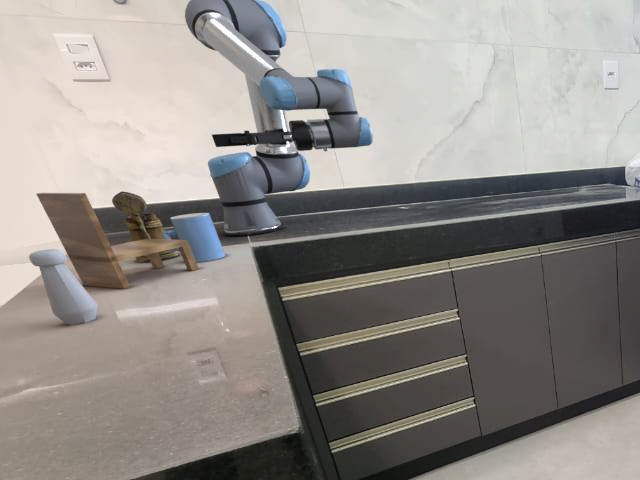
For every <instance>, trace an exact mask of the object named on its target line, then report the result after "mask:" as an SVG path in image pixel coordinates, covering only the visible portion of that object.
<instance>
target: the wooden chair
mask: <svg viewBox="0 0 640 480" xmlns="http://www.w3.org/2000/svg"><path fill="white" fill-rule="evenodd" d="M36 196H37V199H38V200H39V202H40V204H41V206H42V209H43V210H44V212H45V214H46V215H47V217H48V220H49V221H50V223H51V225H52V227H53V229H54V231H55V233H56V236H57V237H58V239H59V241H60V243H61V245H62V246H63V249H64V250H65V253H66V255H67V256H68V258H69V260H70V262H71V264H72V266H73V268H74V270H75V272H76V274H77V276H78V277H79V279H80V282H81V283H82V286H88V287H98V288H99V287H100V288H111V289H123V290H125V289H130V288H131V285H130V284H129V282H128V279H127V277H126V275H125V272H124V271H123V269H122V267H121V264H120V263H119V262H121V261H125V260H131V259H134V258H135V259H136V257H139V256H144V255H148V257H149V260H150V262H149V263H150V264H151V266H152V268H153V269H160V268H165V265H164V263H163V260H161V258H160V256H159V253H158V252H161V251H166V250H170V249H174V248H179V250H180V251H179V253H180V255H181V257H182V260H183V262H184V265H185V267H186V269H187V271H196V270H199V269H200V267H199V265H198V262H196V260H195V258H194V255H193V253H192V251H191V248H190V246H189V243H188V241H187V240H179V239H172V238H171V239H172V240H171V239H148V238H147V239H143V240H138V241H133V242H132V241H128V242H123V243H118V244H113V245H111V244H110V241H109V240H108V238H107V237H108V236H106V233H105V231H104V229H103V227H102V224H101V223H100V220H99V218H98V217H97V215H96V212H95V211H94V208H93V206H92V204H91V201H90V199H89V198H88V195H87V194H86V193H85V192H39V193H36Z"/></svg>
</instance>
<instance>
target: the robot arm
mask: <svg viewBox="0 0 640 480" xmlns="http://www.w3.org/2000/svg"><path fill="white" fill-rule="evenodd" d="M184 18H185V23H186V26H187V28H188V30H189V31H190V33H191V35H192V36H193V37H194V38H195V39H196V40H197V41H198V42H199V43H201V45H203V46H205V48H208V49H209V50H212V51H215V52H217V53H218V54H220V55H221V56H222V57H223V58H225V59H226V60H227V61H228V62H230V63H231V64H232V65H233V66H234V67H236V68H237V69H238V70H239V71H241V73H243V74H244V77H245V78H244V79H245V82H246V87H247V91H248V96H249V101H250V105H251V109H252V114H253V115H252V116H253V120H254V124H255V128H256V132H250V130H243V132H234V133H233V132H232V133H215V134H211V137H212V140H213V142H214V145H215V148H225V147H226V148H227V147H240V146H246V147H251V146H255V147H254V149H255V154H256V155H252V154H251V153H250V152H249V151H243V152H235V153H227V154H224V155H219V156H216V157H212V158H210V159H209V160H208V162H207V167H208V170H209V174H210V175H209V176H210V177H211V179H212V183H213V184H214V187H215V189H216V193H217V195H218V197H219V200H220V203H221V205H222V208H223V231H224V234H225V235H226V236H229V237H242V236H243V237H244V236H253V235H260V234H261V235H262V234H265V233H271V232H274V231H278V230H281V229H282V228H283V227H282V223H281V221H280V220H279V219H278V217H277V216H276V214H275V213H274V211H273V210H272V208H271V207H270V206H269V204H268V201H267V199H266V196H265V195H271V194H278V193H285V192H295V191H298V190H299V191H300V190H303V189H305V188H306V187H307V185H308V184H309V183H310V179H311V170H310V166H309V165H310V164H309V163H308V162H307V159H306V157H305V156H304V155H303V154H302V153H300V152H304V151H312V150H313V149H314V150H323V152H328V149H329V150H330V149H331V150H332V149H348V148H360V147H369V146H371V145H372V144H373V142H374V136H373V130H372V127H371V125H370V121H369V120H368V119H367V118H366V117H363V116H360V114H359V111H358V110H357V105H356V101H355V96H354V91H353V86H352V83H351V80H350V77H349V74H348V72H347V71H346V70H344V69H339V68H324V69H323V68H322V69H318V70H317V71H316V76H293V75H292V74H290V72H288V71H287V70H286V69H284V68H283V66H281V65H280V64H278V63H277V60H278V59H279V58H280V57H281V49H283V48H284V47H285V46H286V44H287V31H286V28H285V25H284V23H283V20H282V18H281V17H280V15H279V13H278V12H277V10H276V9H275V8H274V7H273V6H272V5H271V4H270V3H268V2H266V1H263V0H189V1H188V3H187V4H186V8H185V10H184ZM299 110H300V111H301V110H326V113H327V116H328V117H329V118H318V119H317V118H315V119H307V120H306V121H305V120H303V119H296V120H289V121H288V119H287V113H286V111H287V112H289V111H290V112H291V111H299Z"/></svg>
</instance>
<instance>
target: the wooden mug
mask: <svg viewBox="0 0 640 480" xmlns="http://www.w3.org/2000/svg"><path fill="white" fill-rule="evenodd" d="M111 203H112V205H113V207H115V209H117V210H118V211H119V212H121V213H123V214H128V215H127V216H125V221H126V222H125V224H126V228H127V229H128V231H129V234H130V238H131V242H133V241H138V240H143V239H147V238H148V239H165V238H164V235H163V232H164V231H165V229H164V227H163V222H162V221H161V219H160V218H158V217H157V215H156V213H144V212H145V211H146V210H147V209H148V204H147V202H146V201H145V199H144V198H143V197H142V196H140V195H138V194H135V193H132V192H128V191H120V192H118V193H116V194H115V195H114V196H113V197H112V199H111ZM158 253H159V256H160V258H161V260H162V261H163V260H164V261H165V260H168V259H169V260H170V259H172V258H175V257H178V256H179V251H175V252H172V251H170V250H166V251H161V252H158ZM135 260H136V262H138V263H151V262H150V260H149V257H148V255H144V256H139V257H135Z"/></svg>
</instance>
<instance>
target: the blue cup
mask: <svg viewBox="0 0 640 480" xmlns="http://www.w3.org/2000/svg"><path fill="white" fill-rule="evenodd" d="M170 221H171V223H172V226H173V228H174V229H171V230H164V232H163V235H164V238H165V239H171V240H173V239H172V237H171V236H177V238H178V240H187V241H188V243H189V246H190V248H191V251H192V253H193V255H194V258H195V260H196V263H203V262H205V263H206V262H210V261H215V260H221V259H223V258H224V257H226V253H225V249H224V248H223V245H222V242H221V239H220V237H219V234H218V232H217V229H216V227H215V224H214V221H213V219H212V216H211V214H210V213H209V212H197V213H196V212H195V213H187V214H182V215H175V216H172V217H170ZM170 251H172V252H175V251H177V252H180V250H179V248H174V249H170Z"/></svg>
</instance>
